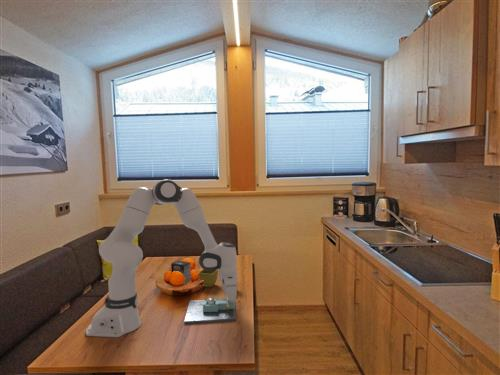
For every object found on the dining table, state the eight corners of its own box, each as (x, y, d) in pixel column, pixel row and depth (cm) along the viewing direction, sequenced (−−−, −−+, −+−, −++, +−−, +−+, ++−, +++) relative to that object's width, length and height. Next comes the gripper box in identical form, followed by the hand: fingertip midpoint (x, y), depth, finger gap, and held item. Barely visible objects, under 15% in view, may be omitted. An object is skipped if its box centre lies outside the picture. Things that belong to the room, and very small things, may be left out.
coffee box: (171, 291, 183) (170, 263, 182) (179, 287, 189) (178, 259, 187) (184, 293, 179) (183, 265, 177) (191, 289, 184) (190, 261, 183)
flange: (203, 312, 153) (202, 305, 153) (204, 305, 160) (204, 299, 160) (233, 311, 154) (233, 304, 153) (234, 304, 161) (233, 298, 160)
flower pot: (212, 289, 184) (211, 273, 183) (198, 287, 187) (198, 272, 186) (218, 283, 192) (218, 268, 192) (205, 282, 195) (205, 267, 194)
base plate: (184, 323, 145) (183, 310, 145) (189, 302, 167) (189, 291, 167) (235, 321, 147) (235, 307, 146) (234, 300, 169) (234, 288, 168)
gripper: (218, 269, 168) (219, 295, 169) (225, 284, 148) (225, 313, 149) (230, 268, 169) (231, 293, 170) (238, 282, 149) (239, 311, 151)
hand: (228, 303), depth 160 cm, fingers closed
